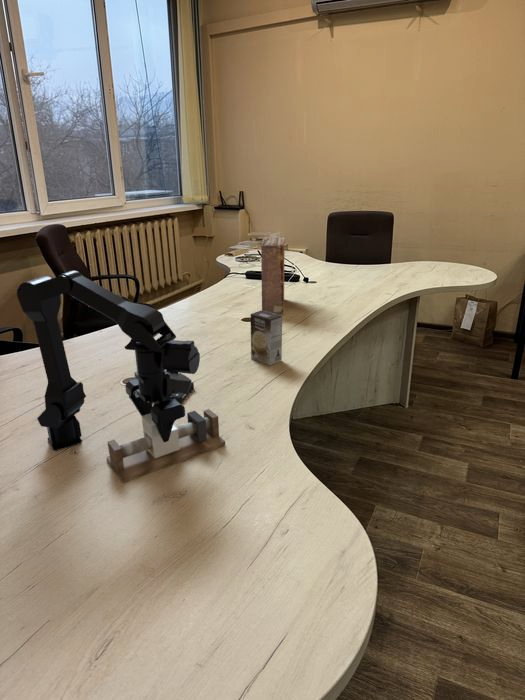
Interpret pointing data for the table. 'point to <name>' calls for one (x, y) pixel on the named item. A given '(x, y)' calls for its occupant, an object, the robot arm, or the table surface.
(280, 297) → the book
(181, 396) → the disk drive
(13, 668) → the table surface
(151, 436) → the sleeve
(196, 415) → the dark square collar
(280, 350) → the coffee box
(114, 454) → the pipe rig
